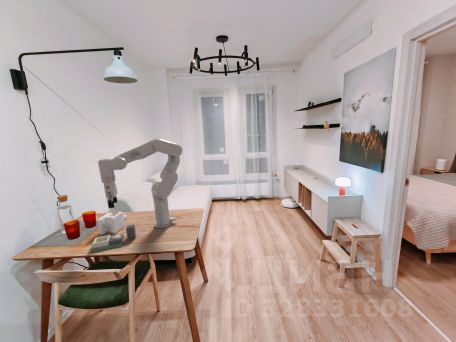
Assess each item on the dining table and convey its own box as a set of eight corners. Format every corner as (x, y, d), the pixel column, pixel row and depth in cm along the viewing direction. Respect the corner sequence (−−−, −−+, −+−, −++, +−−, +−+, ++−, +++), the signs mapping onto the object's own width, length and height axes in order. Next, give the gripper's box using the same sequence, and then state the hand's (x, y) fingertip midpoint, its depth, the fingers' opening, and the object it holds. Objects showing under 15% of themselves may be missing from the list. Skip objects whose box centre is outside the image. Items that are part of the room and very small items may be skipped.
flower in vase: (114, 217, 173) (109, 187, 168) (128, 216, 174) (124, 186, 169) (106, 224, 161) (101, 192, 156) (122, 223, 162) (117, 191, 157)
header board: (124, 237, 140) (123, 231, 139) (121, 246, 129) (120, 240, 128) (96, 242, 135) (95, 236, 135) (91, 252, 124) (90, 245, 123)
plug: (136, 235, 142) (134, 224, 140) (135, 238, 138) (133, 227, 136) (127, 237, 140) (126, 225, 139) (127, 240, 136) (125, 228, 135)
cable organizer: (114, 235, 143) (111, 219, 141) (98, 236, 143) (95, 220, 141) (125, 225, 158) (123, 210, 155) (111, 226, 158) (108, 211, 156)
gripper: (112, 181, 125) (117, 209, 129) (117, 175, 141) (122, 200, 145) (97, 183, 123) (103, 211, 127) (105, 177, 139) (109, 201, 143)
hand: (113, 205), depth 136 cm, fingers open, 9 cm apart
